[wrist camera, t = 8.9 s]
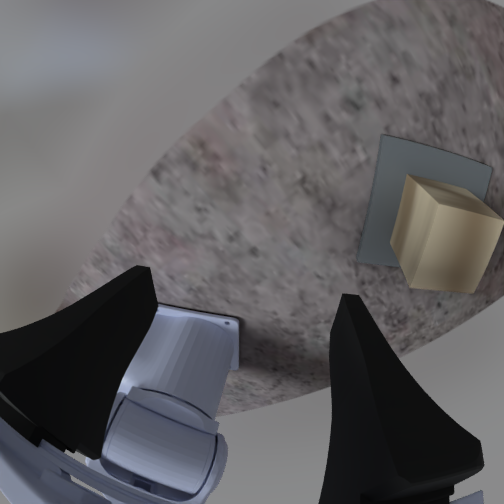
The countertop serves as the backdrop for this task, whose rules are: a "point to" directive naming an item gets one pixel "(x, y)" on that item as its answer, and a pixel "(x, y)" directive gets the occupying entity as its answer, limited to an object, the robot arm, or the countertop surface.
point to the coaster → (392, 184)
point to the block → (443, 236)
